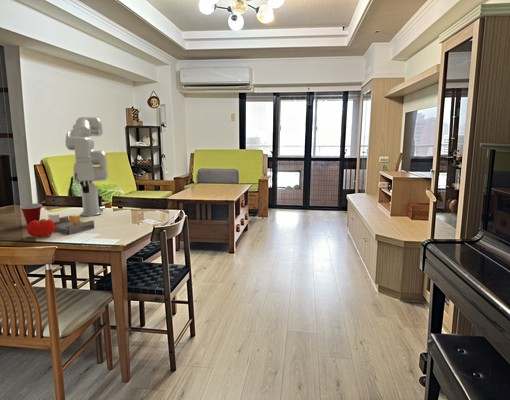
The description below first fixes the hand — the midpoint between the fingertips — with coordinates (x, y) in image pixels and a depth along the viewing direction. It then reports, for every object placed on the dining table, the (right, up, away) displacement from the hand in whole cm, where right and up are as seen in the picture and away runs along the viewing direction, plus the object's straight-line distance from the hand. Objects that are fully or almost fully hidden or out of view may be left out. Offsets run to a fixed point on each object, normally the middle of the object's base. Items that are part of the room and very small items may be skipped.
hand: (86, 192), depth 196 cm
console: (-9, -20, -1) cm, 22 cm away
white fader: (-17, -17, -2) cm, 24 cm away
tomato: (-14, -23, -16) cm, 31 cm away
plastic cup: (-34, -19, +7) cm, 40 cm away
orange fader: (-4, -18, -5) cm, 19 cm away
